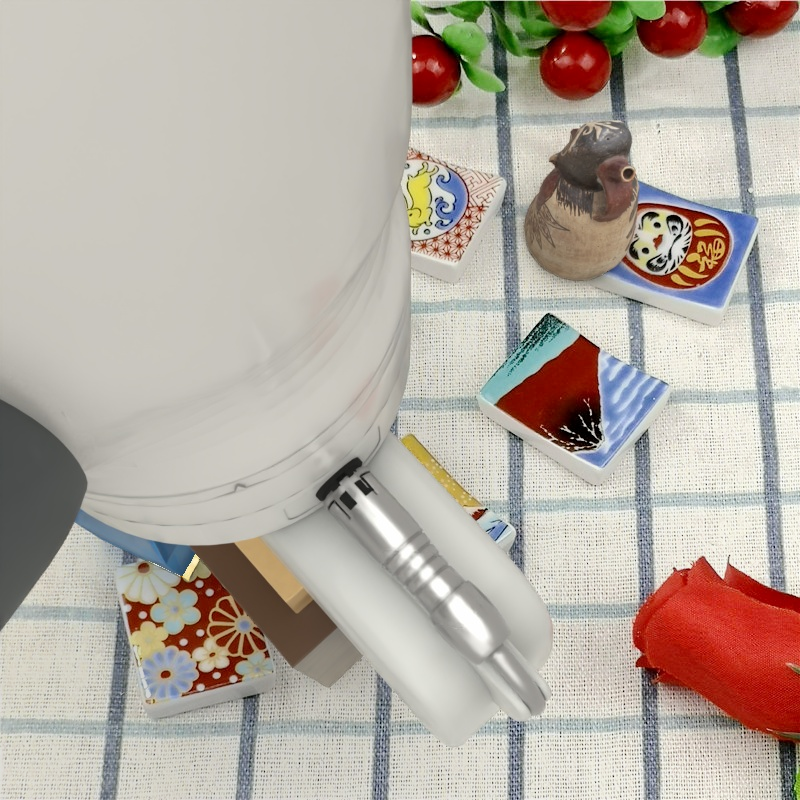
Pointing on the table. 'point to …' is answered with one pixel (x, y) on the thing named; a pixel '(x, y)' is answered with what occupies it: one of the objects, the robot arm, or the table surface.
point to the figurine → (585, 204)
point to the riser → (282, 617)
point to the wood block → (275, 573)
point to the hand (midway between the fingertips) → (278, 478)
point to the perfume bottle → (140, 545)
